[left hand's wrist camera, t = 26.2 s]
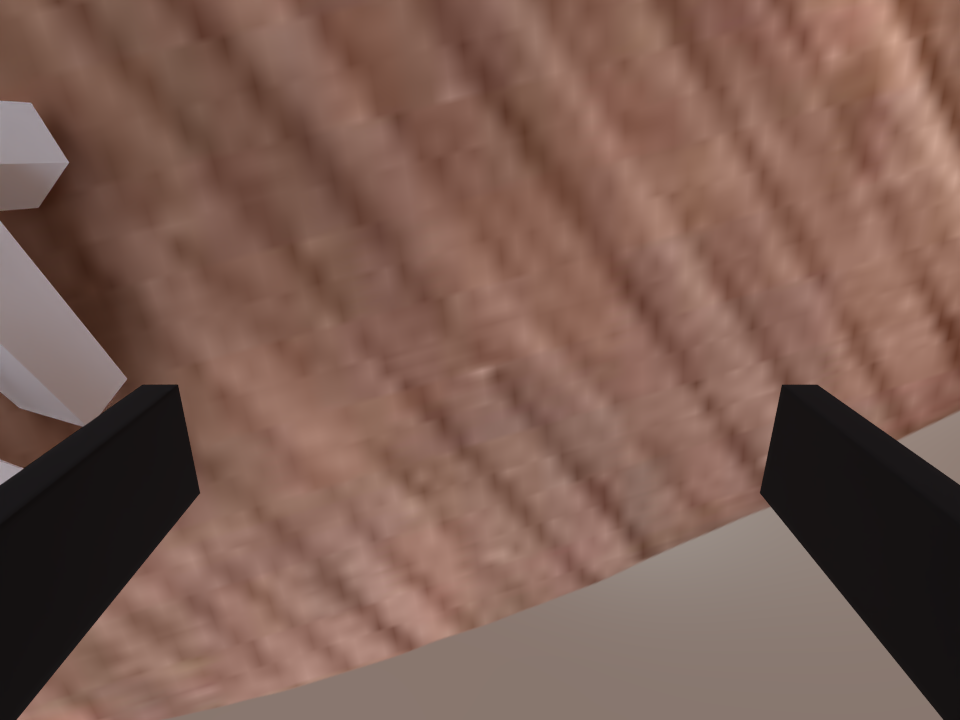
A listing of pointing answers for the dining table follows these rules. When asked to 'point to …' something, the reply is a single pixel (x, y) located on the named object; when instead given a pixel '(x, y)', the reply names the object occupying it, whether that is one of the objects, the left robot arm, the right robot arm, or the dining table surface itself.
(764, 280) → the dining table surface
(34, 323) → the pile of blocks
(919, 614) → the left robot arm
